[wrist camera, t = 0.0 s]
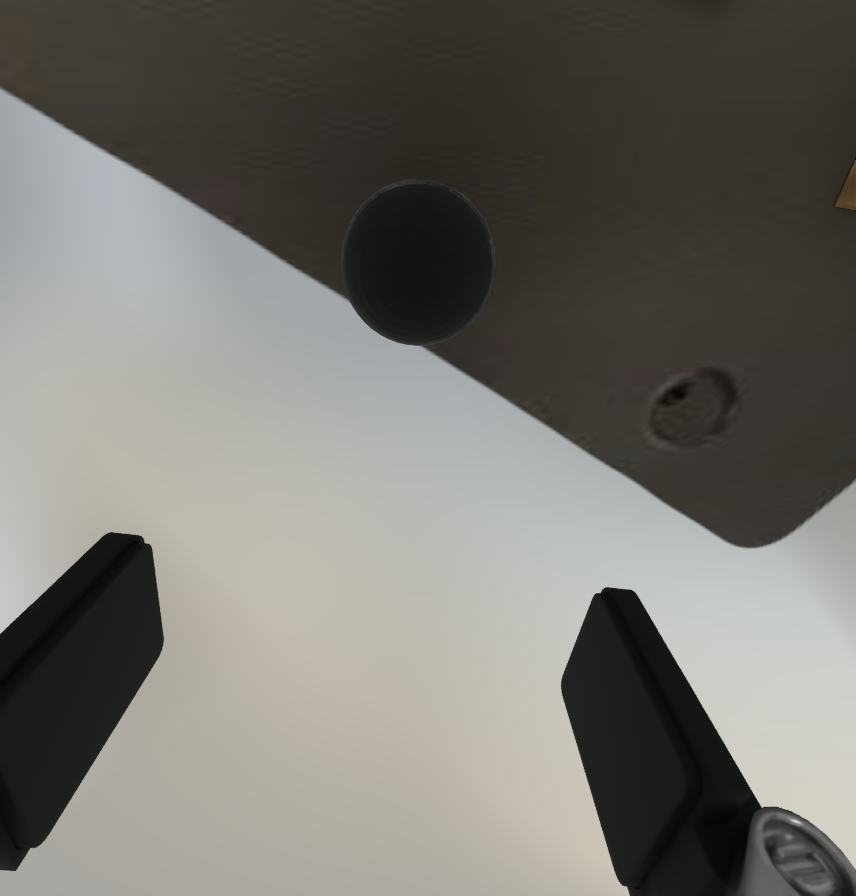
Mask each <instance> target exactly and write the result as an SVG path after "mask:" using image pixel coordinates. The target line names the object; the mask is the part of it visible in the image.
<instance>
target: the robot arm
mask: <svg viewBox="0 0 856 896" xmlns="http://www.w3.org/2000/svg"><path fill="white" fill-rule="evenodd" d="M163 642H164V636H163V629H162V622H161V613H160V606H159V598H158V590H157V583H156V576H155V567H154V560H153V552H152V547H151V545H150V544H146V543H145V542H144V539H143V538H142V536H139V535H131V534H122V533H113V532H111V533H107V534H106V535H104V536H103V537H102V538H101V539H100V540H99V541H98V542H97V543H96V544H94V545H93V547H91V548H90V549H89V550H88V551H87V552H86V553H85V554H84V555H83V556H82V557H81V558H80V559H79V560H78V561H77V562H76V563H75V564H74V565H72V566H71V567H70V568H69V569H68V570H67V571H66V572H65V573H64V574H63V575H62V576H61V577H60V578H59V579H58V580H57V581H56V582H55V583H54V584H53V585H52V586H51V587H49V588H48V589H47V591H45V592H44V593H43V594H42V595H41V596H40V597H39V598H38V599H37V600H36V601H35V602H34V603H33V604H31V605H30V606H29V607H28V608H27V609H26V610H25V611H24V612H23V613H22V614H21V615H20V616H19V617H18V618H17V619H16V620H15V621H13V623H11V624H10V625H9V626H8V627H7V628H6V629H5V630H4V631H3V632H2V633H1V634H0V870H9V871H16V870H17V868H18V867H19V865H20V863H21V862H22V860H23V859H24V857H25V856H26V854H27V853H28V851H29V849H30V848H35V847H38V846H39V845H41V844H42V842H43V841H44V840H45V839H46V838H47V836H48V835H49V833H50V832H51V830H52V829H53V827H54V825H55V824H56V822H57V821H58V819H59V817H60V816H61V814H62V813H63V811H64V809H65V808H66V806H67V804H68V803H69V801H70V800H71V798H72V796H73V795H74V793H75V791H76V790H77V788H78V787H79V785H80V783H81V782H82V780H83V779H84V777H85V775H86V774H87V772H88V771H89V769H90V767H91V766H92V764H93V763H94V761H95V759H96V758H97V756H98V754H99V753H100V751H101V750H102V748H103V746H104V745H105V743H106V742H107V740H108V738H109V737H110V735H111V733H112V731H113V730H114V729H115V727H116V725H117V724H118V722H119V721H120V719H121V717H122V715H123V714H124V712H125V711H126V709H127V708H128V706H129V704H130V703H131V701H132V700H133V698H134V696H135V695H136V693H137V691H138V690H139V688H140V687H141V685H142V683H143V682H144V680H145V679H146V677H147V675H148V674H149V672H150V671H151V669H152V667H153V666H154V664H155V662H156V661H157V659H158V657H159V656H160V653H161V651H162V647H163ZM561 689H562V696H563V699H564V703H565V706H566V709H567V713H568V716H569V719H570V723H571V726H572V729H573V733H574V736H575V739H576V743H577V746H578V750H579V753H580V756H581V760H582V763H583V767H584V770H585V773H586V777H587V780H588V783H589V786H590V790H591V793H592V796H593V800H594V803H595V807H596V810H597V814H598V817H599V820H600V824H601V827H602V830H603V834H604V837H605V840H606V844H607V847H608V850H609V854H610V857H611V861H612V864H613V867H614V871H615V873H616V876H617V878H618V880H619V882H620V883H621V884H622V885H623V886H627V887H628V890H629V894H630V896H856V870H855V868H854V867H853V866H852V864H851V863H850V862H849V860H848V859H847V857H846V856H845V855H844V854H843V852H842V851H841V850H840V849H839V848H838V847H837V846H836V845H835V844H834V843H833V841H831V839H829V837H828V836H827V835H826V834H825V833H823V832H822V831H821V830H819V829H818V828H817V827H816V826H814V825H813V824H812V823H810V822H809V821H808V820H806V819H804V818H802V817H801V816H799V815H797V814H795V813H793V812H792V811H789V810H785V809H782V808H779V807H763V808H761V806H760V804H759V802H758V801H757V799H756V797H755V796H754V794H753V792H752V790H751V789H750V787H749V785H748V784H747V782H746V780H745V778H744V777H743V775H742V773H741V772H740V770H739V768H738V766H737V765H736V763H735V761H734V760H733V758H732V756H731V754H730V753H729V751H728V749H727V748H726V746H725V744H724V742H723V741H722V739H721V737H720V736H719V734H718V732H717V730H716V729H715V727H714V725H713V724H712V722H711V720H710V719H709V717H708V715H707V713H706V712H705V710H704V708H703V707H702V705H701V703H700V702H699V700H698V698H697V696H696V695H695V693H694V691H693V690H692V688H691V686H690V684H689V683H688V681H687V679H686V677H685V676H684V674H683V672H682V671H681V669H680V668H679V666H678V664H677V663H676V661H675V659H674V657H673V656H672V654H671V652H670V651H669V649H668V647H667V645H666V644H665V642H664V640H663V638H662V637H661V635H660V634H659V632H658V630H657V628H656V626H655V625H654V623H653V621H652V620H651V618H650V616H649V614H648V613H647V611H646V609H645V608H644V606H643V604H642V603H641V601H640V599H639V597H638V596H637V594H636V593H635V592H634V591H632V590H627V589H617V588H609V587H607V588H604V589H603V590H602V591H601V593H596V594H595V595H594V597H593V599H592V601H591V604H590V606H589V609H588V611H587V614H586V617H585V619H584V622H583V624H582V627H581V630H580V632H579V635H578V637H577V640H576V643H575V645H574V648H573V651H572V653H571V656H570V658H569V661H568V663H567V666H566V668H565V671H564V674H563V676H562V681H561Z"/></svg>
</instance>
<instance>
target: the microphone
mask: <svg viewBox="0 0 856 896" xmlns="http://www.w3.org/2000/svg"><path fill="white" fill-rule="evenodd" d="M340 266H341V276H342V280H343V285H344V288H345V291H346V294H347V297H348V299H349V300H350V302H351V304H352V306H353V308H354V309H355V311H356V312H357V314H358V315H359V316H360V317H361V319H362V320H363V321H364V322H365V323H366V324H367V325H368V326H369V327H370V328H372V329H373V330H374V331H376V332H377V333H379V334H380V335H382V336H384V337H386V338H388V339H390V340H392V341H395V342H398V343H402V344H406V345H415V346H420V345H431V344H436V343H439V342H443V341H446V340H448V339H450V338H452V337H454V336H456V335H457V334H459V333H461V332H462V331H463V330H465V329H466V328H467V327H468V326H469V325H470V324H471V323H472V322H473V321H474V320H475V319H476V318H477V317H478V315H479V314H480V313H481V311H482V310H483V308H484V306H485V305H486V303H487V301H488V299H489V296H490V294H491V291H492V287H493V284H494V279H495V273H496V253H495V246H494V242H493V238H492V235H491V232H490V229H489V227H488V225H487V223H486V221H485V219H484V217H483V216H482V214H481V213H480V211H479V210H478V208H477V207H476V206H475V205H474V204H473V203H472V202H471V201H470V200H469V199H468V198H467V197H466V196H465V195H463V194H462V193H461V192H459V191H458V190H456V189H454V188H453V187H451V186H448V185H446V184H444V183H441V182H438V181H434V180H428V179H407V180H401V181H397V182H394V183H392V184H389V185H387V186H385V187H383V188H381V189H379V190H378V191H376V192H375V193H373V194H372V195H371V196H369V197H368V198H367V199H366V200H365V201H364V202H363V203H362V204H361V206H360V207H359V208H358V209H357V211H356V212H355V214H354V215H353V217H352V219H351V220H350V222H349V224H348V227H347V229H346V232H345V235H344V238H343V242H342V248H341V259H340Z"/></svg>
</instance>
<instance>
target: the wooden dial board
mask: <svg viewBox="0 0 856 896" xmlns="http://www.w3.org/2000/svg"><path fill="white" fill-rule="evenodd" d="M835 207H840V208H846V209H851V210H856V160H855V162H854V164H853V167H852V169H851V171H850V173H849V175H848V177H847V180H846V182H845V184H844V186H843V188H842V191H841V193H840V195H839V197H838V199H837V201H836V204H835Z"/></svg>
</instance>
